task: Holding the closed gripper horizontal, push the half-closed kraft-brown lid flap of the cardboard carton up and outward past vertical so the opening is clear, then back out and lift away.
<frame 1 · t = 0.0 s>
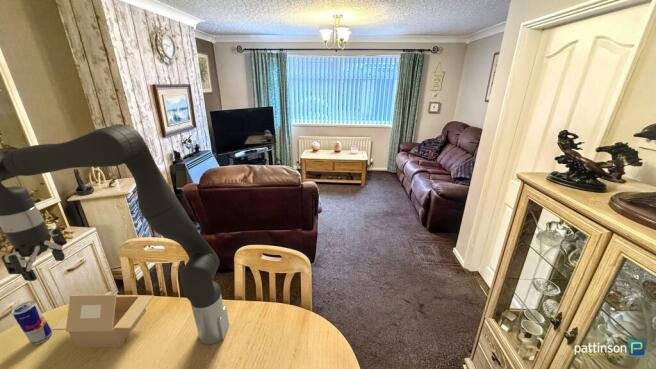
hand: (47, 269, 76), 29 cm above the table, tool pointing down, fingers open, 8 cm apart
carton: (114, 327, 90), on the table
beverage can: (43, 338, 86), on the table
lid flap: (91, 312, 81), point 13 cm above the table, hinge at 60.0°
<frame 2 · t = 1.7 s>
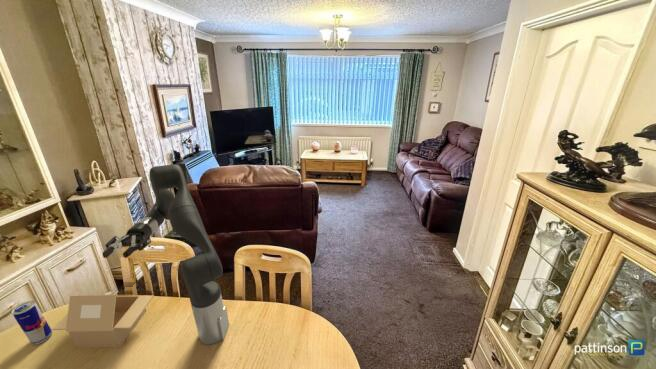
hand: (114, 255, 90), 24 cm above the table, tool horizontal, fingers open, 6 cm apart
nothing on the table moved.
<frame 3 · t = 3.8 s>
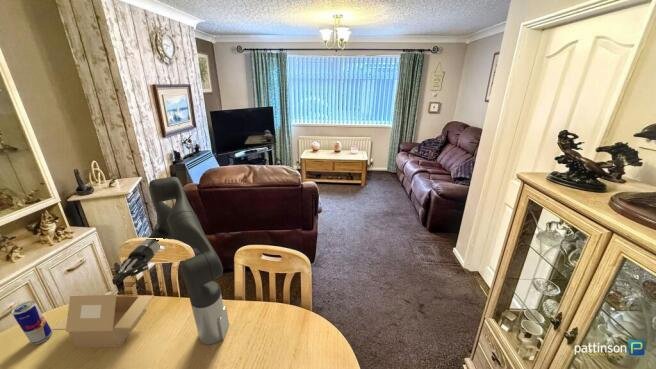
hand: (115, 282, 90), 15 cm above the table, tool horizontal, fingers closed
nothing on the table moved.
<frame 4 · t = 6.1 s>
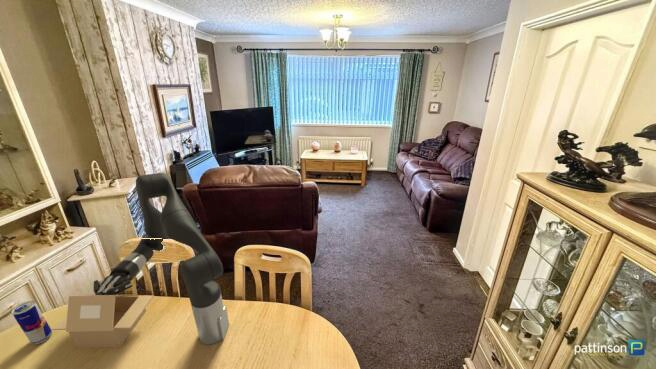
hand: (92, 304, 81), 15 cm above the table, tool horizontal, fingers closed
lid flap: (90, 313, 81), point 13 cm above the table, hinge at 62.0°, touching gripper
everything else where it was.
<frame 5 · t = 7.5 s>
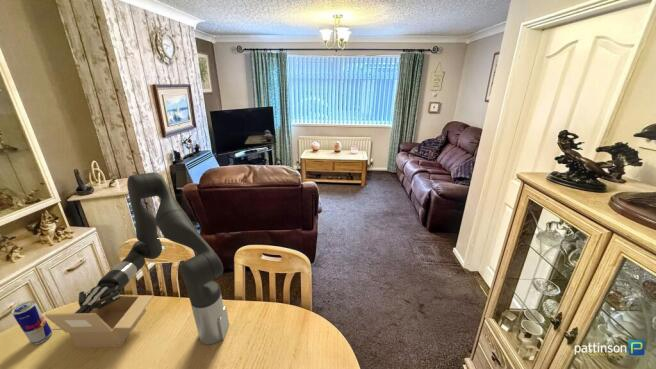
hand: (76, 318, 76), 16 cm above the table, tool horizontal, fingers closed
lid flap: (80, 323, 77), point 13 cm above the table, hinge at 103.1°, touching gripper
everything else where it was.
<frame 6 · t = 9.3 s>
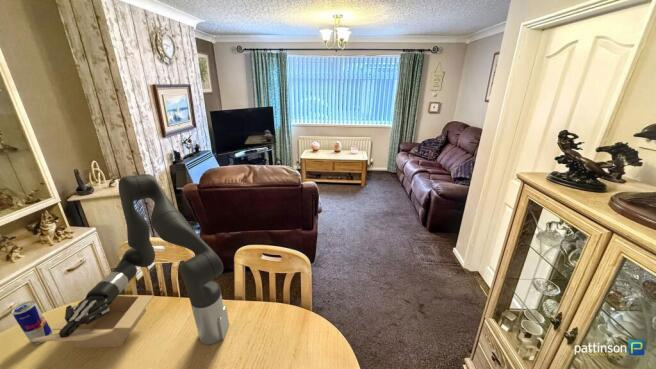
hand: (62, 335, 72), 15 cm above the table, tool horizontal, fingers closed
lid flap: (74, 335, 75), point 12 cm above the table, hinge at 137.1°, touching gripper
everything else where it was.
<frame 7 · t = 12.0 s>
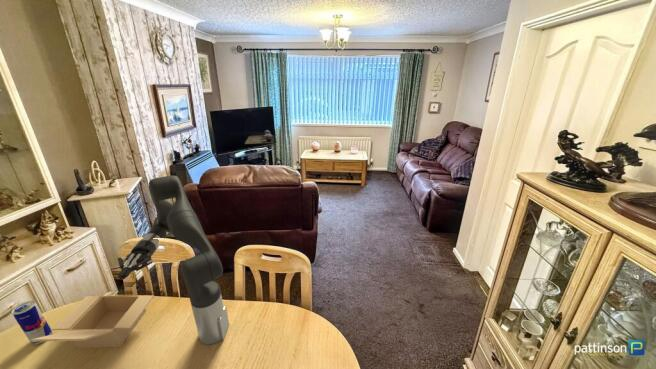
hand: (121, 277, 92), 15 cm above the table, tool horizontal, fingers closed
lid flap: (74, 335, 75), point 12 cm above the table, hinge at 137.2°
everything else where it was.
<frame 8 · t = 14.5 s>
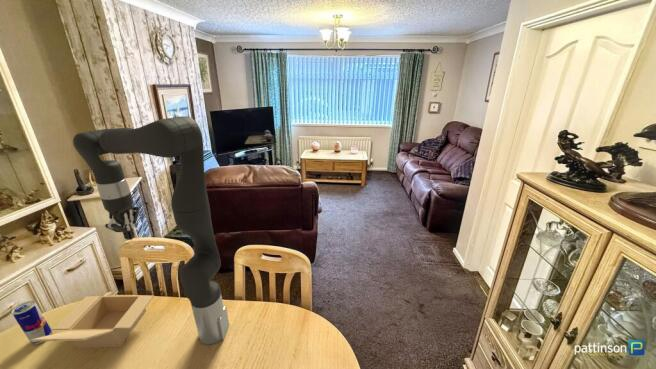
hand: (130, 238, 87), 32 cm above the table, tool pointing down, fingers closed
nothing on the table moved.
at the end: lid flap at +137° (first picture: +60°) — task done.
